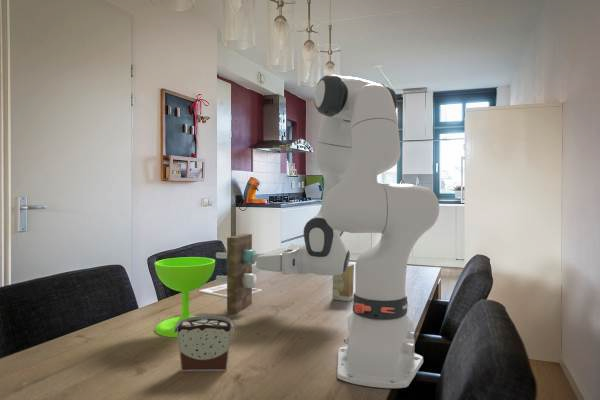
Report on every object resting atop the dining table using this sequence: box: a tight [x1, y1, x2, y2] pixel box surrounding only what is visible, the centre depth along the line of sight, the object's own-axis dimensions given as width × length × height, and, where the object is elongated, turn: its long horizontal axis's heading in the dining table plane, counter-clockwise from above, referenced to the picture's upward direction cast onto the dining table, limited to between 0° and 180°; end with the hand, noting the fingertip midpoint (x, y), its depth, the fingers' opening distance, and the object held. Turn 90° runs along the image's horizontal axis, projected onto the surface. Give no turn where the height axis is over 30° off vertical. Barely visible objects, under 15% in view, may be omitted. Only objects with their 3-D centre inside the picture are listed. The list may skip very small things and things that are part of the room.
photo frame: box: [198, 283, 263, 298], centre depth 161 cm, size 15×1×18 cm
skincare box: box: [331, 263, 355, 303], centre depth 150 cm, size 6×4×12 cm
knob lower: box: [215, 273, 257, 288], centre depth 138 cm, size 13×4×4 cm, turn 73°
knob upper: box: [215, 249, 257, 265], centre depth 138 cm, size 13×4×4 cm, turn 73°
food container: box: [174, 314, 235, 372], centre depth 93 cm, size 12×6×10 cm, turn 92°
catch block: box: [226, 233, 253, 315], centre depth 138 cm, size 3×12×23 cm, turn 163°
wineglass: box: [153, 256, 216, 338], centre depth 119 cm, size 16×16×18 cm
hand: (253, 256), depth 136 cm, fingers closed, pressing on knob upper
